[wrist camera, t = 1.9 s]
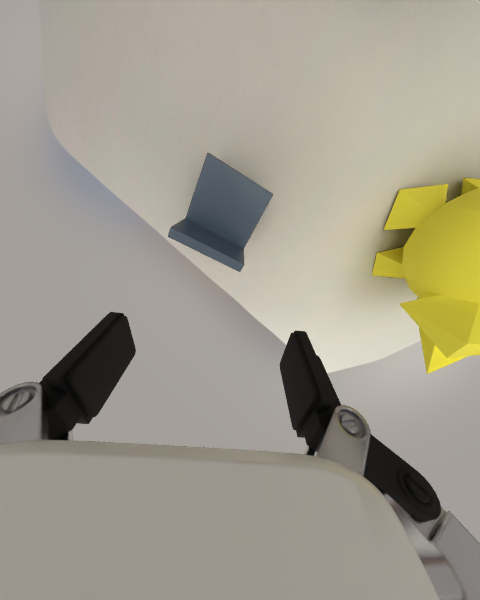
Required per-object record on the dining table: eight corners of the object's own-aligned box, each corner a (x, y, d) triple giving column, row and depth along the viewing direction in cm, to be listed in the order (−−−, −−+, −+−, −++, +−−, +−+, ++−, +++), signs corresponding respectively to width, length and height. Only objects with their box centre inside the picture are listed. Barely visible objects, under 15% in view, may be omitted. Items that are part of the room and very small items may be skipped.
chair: (195, 216, 28) (167, 236, 18) (215, 159, 24) (196, 141, 14) (240, 241, 30) (240, 272, 20) (266, 192, 26) (282, 197, 16)
